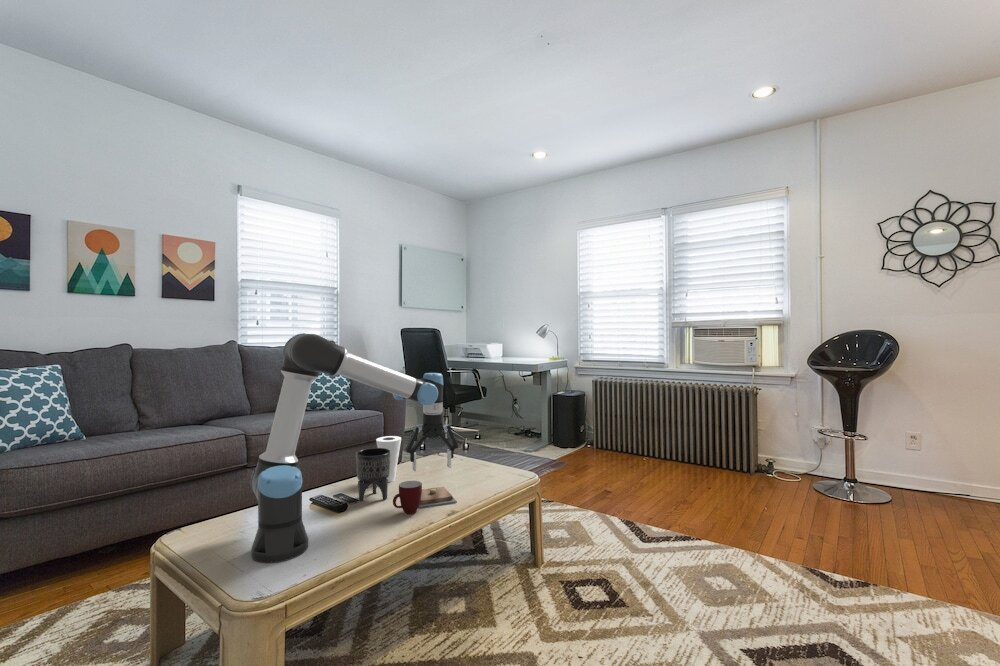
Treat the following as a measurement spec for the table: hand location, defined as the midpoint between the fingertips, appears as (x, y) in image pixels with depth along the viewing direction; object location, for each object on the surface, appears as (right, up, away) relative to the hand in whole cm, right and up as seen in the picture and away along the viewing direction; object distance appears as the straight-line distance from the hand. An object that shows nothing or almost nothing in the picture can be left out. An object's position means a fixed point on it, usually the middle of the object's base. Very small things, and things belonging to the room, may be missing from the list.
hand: (431, 468), depth 178 cm
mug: (-7, -12, -14) cm, 20 cm away
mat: (0, -12, 0) cm, 12 cm away
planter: (-23, -12, +1) cm, 26 cm away
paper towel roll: (-22, -12, +22) cm, 33 cm away
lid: (0, -11, 0) cm, 11 cm away
